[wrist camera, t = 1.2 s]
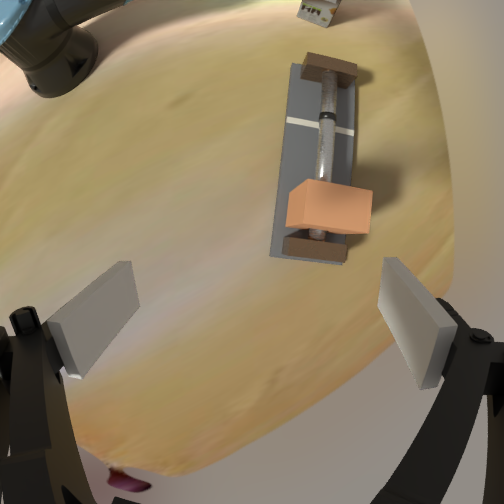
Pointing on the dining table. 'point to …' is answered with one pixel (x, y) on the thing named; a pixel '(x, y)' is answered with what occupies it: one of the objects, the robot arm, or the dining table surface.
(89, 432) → the dining table surface
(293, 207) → the block
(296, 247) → the pipe rig
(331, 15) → the coffee box
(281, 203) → the base board
